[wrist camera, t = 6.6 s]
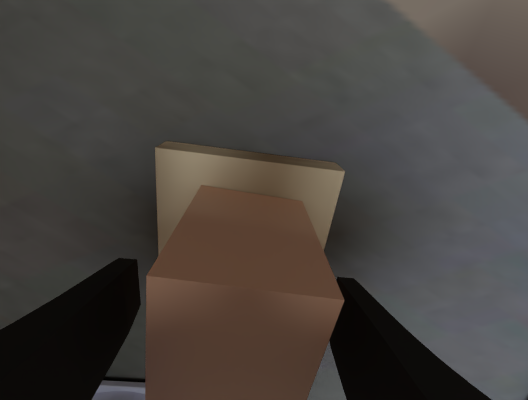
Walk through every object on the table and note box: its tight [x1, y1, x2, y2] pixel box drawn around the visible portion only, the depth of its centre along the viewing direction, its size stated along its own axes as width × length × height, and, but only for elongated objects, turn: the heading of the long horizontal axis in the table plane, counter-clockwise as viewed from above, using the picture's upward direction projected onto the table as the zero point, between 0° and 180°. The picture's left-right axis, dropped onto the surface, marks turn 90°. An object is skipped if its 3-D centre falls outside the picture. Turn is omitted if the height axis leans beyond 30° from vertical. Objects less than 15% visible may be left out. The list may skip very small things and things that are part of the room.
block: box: [145, 185, 344, 400], centre depth 9 cm, size 4×4×6 cm
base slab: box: [155, 141, 345, 254], centre depth 13 cm, size 8×8×2 cm
